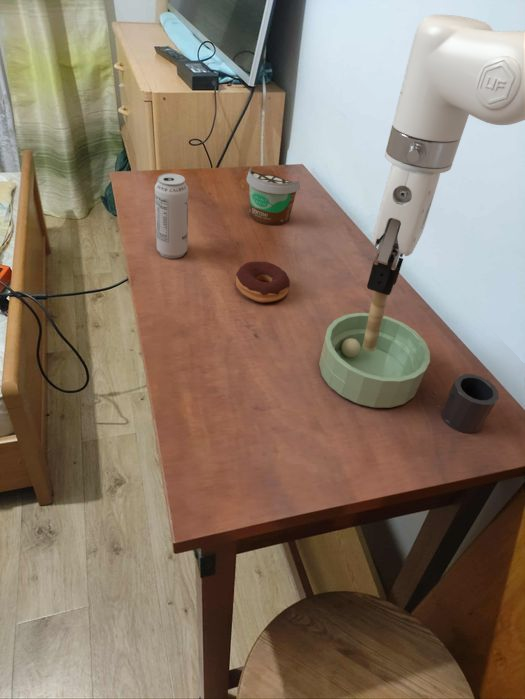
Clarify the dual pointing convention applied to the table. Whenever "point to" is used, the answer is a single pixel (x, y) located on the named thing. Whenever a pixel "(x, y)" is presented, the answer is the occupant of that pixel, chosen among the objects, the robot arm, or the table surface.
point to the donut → (260, 291)
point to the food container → (271, 198)
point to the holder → (469, 403)
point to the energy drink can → (171, 215)
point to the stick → (375, 320)
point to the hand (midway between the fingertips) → (381, 285)
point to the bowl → (374, 362)
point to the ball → (350, 347)
